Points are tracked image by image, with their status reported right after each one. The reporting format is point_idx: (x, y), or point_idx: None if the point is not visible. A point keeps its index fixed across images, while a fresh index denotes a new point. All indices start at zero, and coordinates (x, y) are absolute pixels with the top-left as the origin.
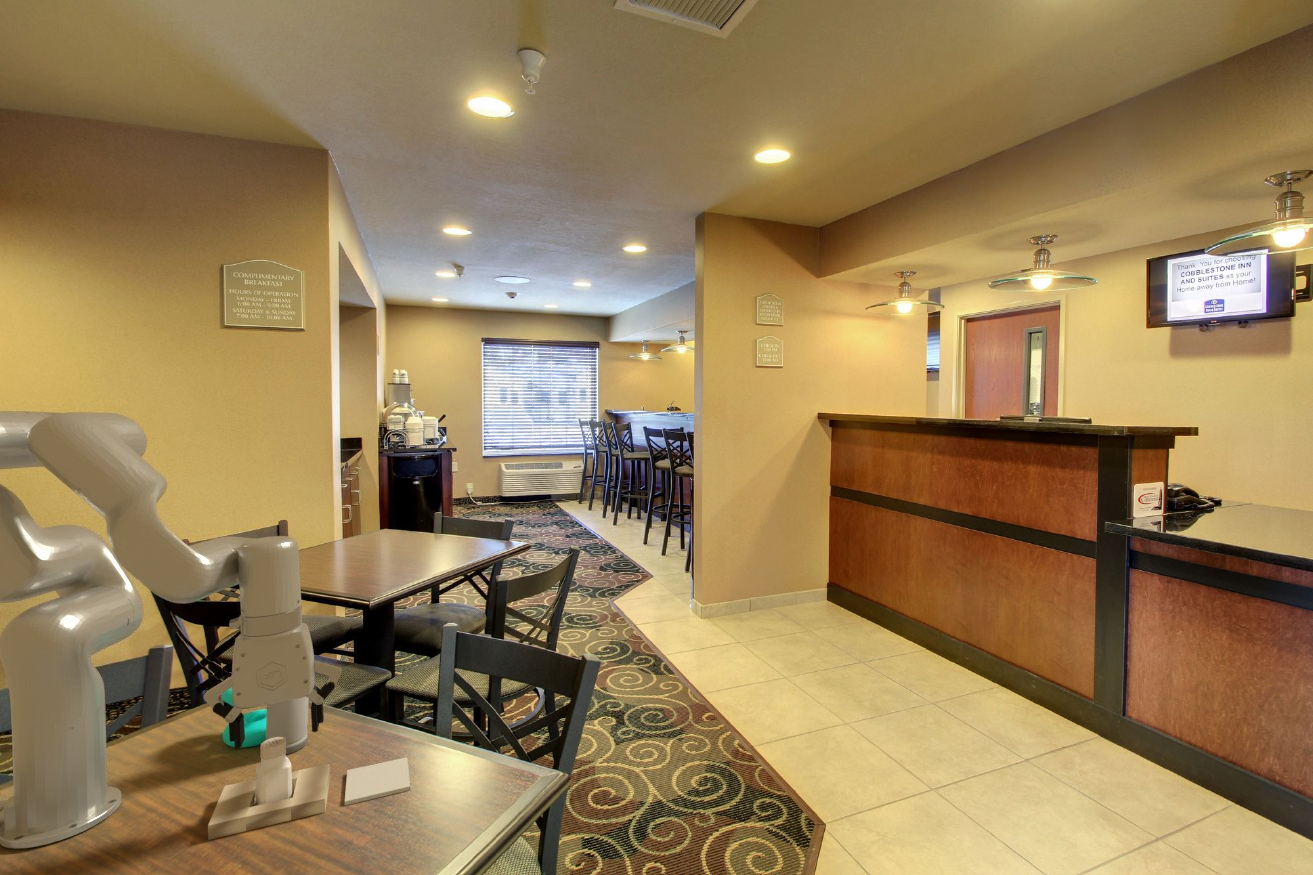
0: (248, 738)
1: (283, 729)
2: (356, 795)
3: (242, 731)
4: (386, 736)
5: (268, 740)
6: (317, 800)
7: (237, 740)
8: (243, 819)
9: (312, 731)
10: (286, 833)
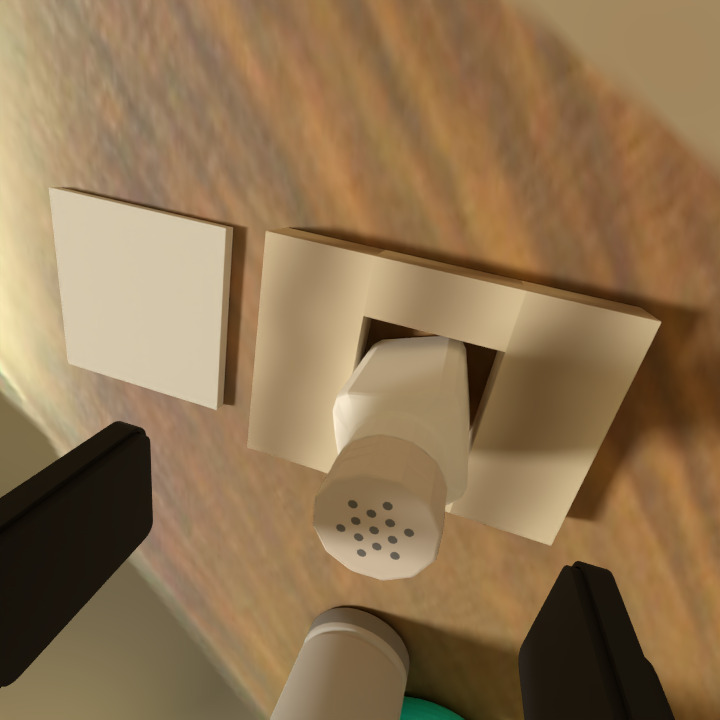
0: None
1: (348, 691)
2: (192, 241)
3: (555, 700)
4: None
5: (395, 566)
6: (289, 235)
7: (607, 619)
8: (532, 291)
9: (144, 434)
10: (406, 172)
